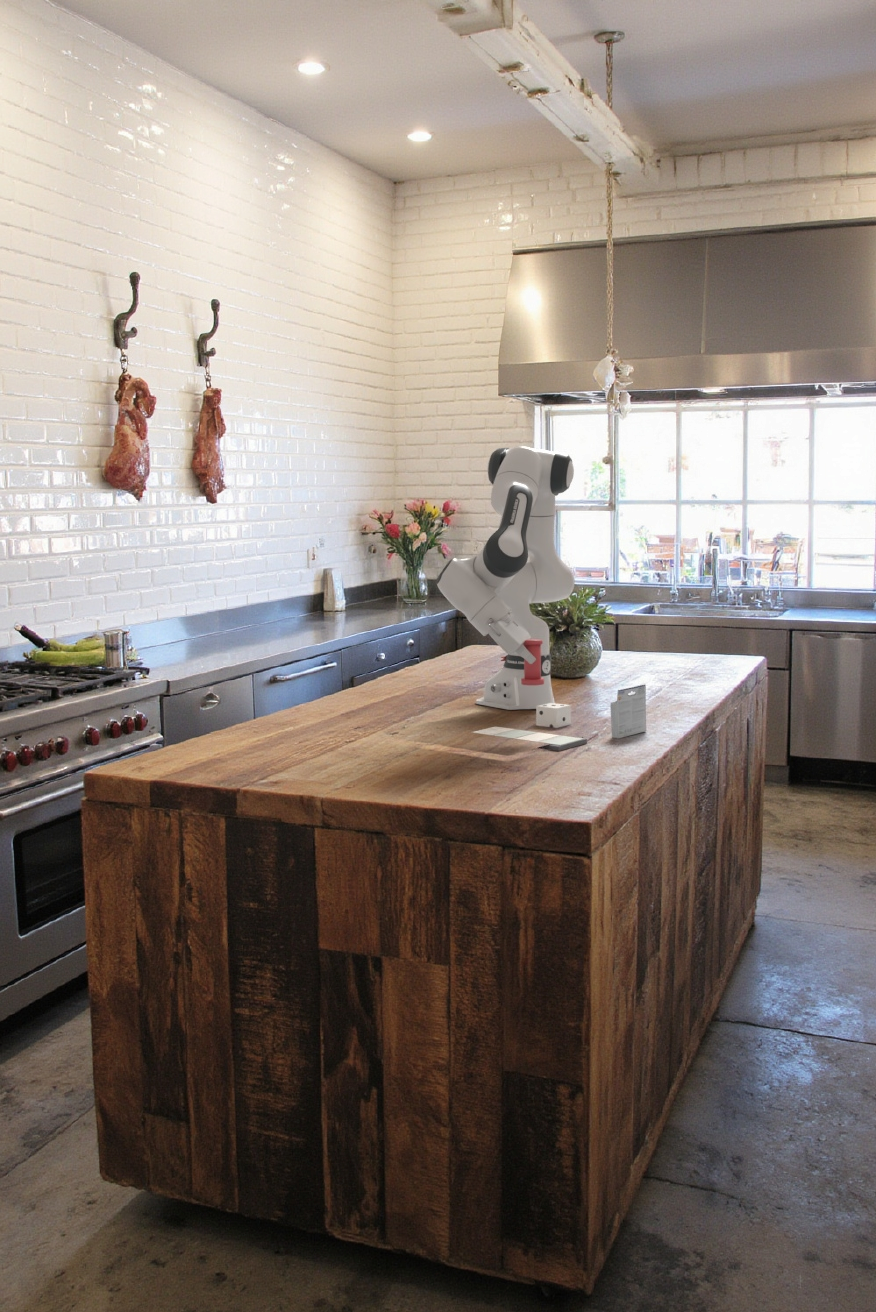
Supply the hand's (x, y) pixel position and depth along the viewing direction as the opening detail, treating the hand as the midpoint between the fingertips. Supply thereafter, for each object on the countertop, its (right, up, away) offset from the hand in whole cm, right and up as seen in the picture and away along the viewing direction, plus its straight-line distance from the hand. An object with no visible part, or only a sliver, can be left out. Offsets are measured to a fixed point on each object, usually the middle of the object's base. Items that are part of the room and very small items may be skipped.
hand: (535, 660), depth 264 cm
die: (+6, -17, +17) cm, 25 cm away
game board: (-2, -19, +4) cm, 19 cm away
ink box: (+23, -18, +9) cm, 30 cm away
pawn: (-1, -5, +1) cm, 5 cm away
